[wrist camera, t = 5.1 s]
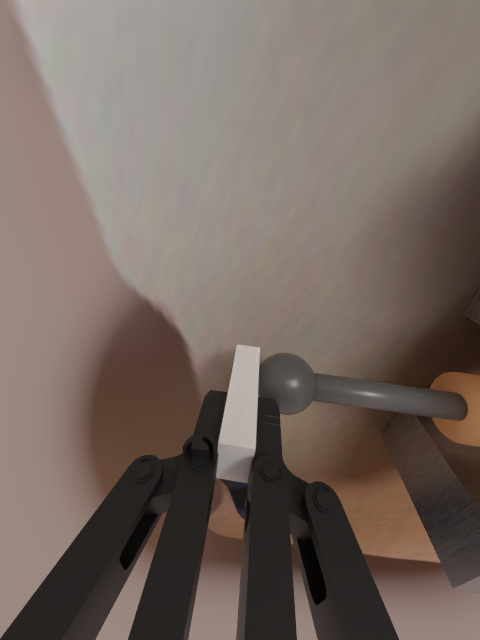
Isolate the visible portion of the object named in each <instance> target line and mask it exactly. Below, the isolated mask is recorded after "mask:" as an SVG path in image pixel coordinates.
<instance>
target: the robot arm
mask: <svg viewBox="0 0 480 640" xmlns="http://www.w3.org/2000/svg"><path fill="white" fill-rule="evenodd" d="M259 360H260V347H253V346H245V345H238V344H237V348H236V353H235V358H234V363H233V369H232V374H231V379H230V384H229V389H228V393H227V392H221V391H214V390H210V391H209V393H208V394H207V395H206V396H205V398H204V401H203V404H202V408H201V411H200V415H199V418H198V421H197V424H196V428H195V431H194V434H193V436H191V437H190V438H189V439H188V440H186V442H185V444H184V446H183V453H182V454H180V455H178V456H176V457H173V458H167V459H162V460H159V459H158V458H157V457H156V456H153V455H145V456H141V457H140V458H138V459H136V460H135V461H134V462H133V463H132V464H131V465H130V466H129V467H128V469H127V470H126V471H125V473H124V474H123V475H122V477H121V478H120V479H119V481H118V482H117V483H116V485H115V486H114V487H113V489H112V490H111V491H110V493H109V494H108V495H107V497H106V498H105V499H104V501H103V502H102V503H101V505H100V506H99V507H98V509H97V510H96V511H95V513H94V514H93V516H92V517H91V518H90V520H89V521H88V522H87V524H86V525H85V526H84V528H83V529H82V530H81V532H80V533H79V534H78V536H77V537H76V538H75V540H74V541H73V542H72V544H71V545H70V546H69V548H68V549H67V550H66V552H65V553H64V554H63V556H62V557H61V558H60V560H59V561H58V562H57V564H56V565H55V566H54V568H53V569H52V570H51V572H50V573H49V574H48V576H47V577H46V578H45V580H44V581H43V583H42V584H41V585H40V586H39V588H38V589H37V590H36V592H35V593H34V594H33V596H32V597H31V598H30V600H29V601H28V602H27V604H26V605H25V606H24V608H23V609H22V610H21V612H20V613H19V615H18V616H17V617H16V619H15V620H14V621H13V623H12V624H11V625H10V627H9V628H8V629H7V631H6V632H5V633H4V635H3V636H2V637H1V639H0V640H95V639H96V637H97V635H98V633H99V631H100V630H101V628H102V626H103V624H104V622H105V620H106V618H107V616H108V614H109V613H110V610H111V609H112V607H113V605H114V603H115V601H116V599H117V597H118V596H119V594H120V592H121V590H122V588H123V586H124V584H125V582H126V581H127V579H128V577H129V575H130V573H131V571H132V569H133V567H134V566H135V564H136V562H137V560H138V558H139V556H140V554H141V552H142V551H143V549H144V547H145V545H146V543H147V541H148V539H149V537H150V536H151V534H152V532H153V530H154V528H155V526H156V524H157V522H158V520H159V519H160V517H161V515H162V513H164V512H167V514H166V517H165V521H164V524H163V527H162V531H161V534H160V537H159V540H158V543H157V547H156V550H155V553H154V557H153V560H152V563H151V566H150V570H149V573H148V576H147V580H146V582H145V586H144V589H143V592H142V595H141V599H140V602H139V605H138V609H137V612H136V615H135V619H134V622H133V625H132V628H131V631H130V635H129V638H128V640H188V637H189V631H190V625H191V619H192V614H193V608H194V602H195V597H196V591H197V585H198V579H199V574H200V568H201V562H202V557H203V551H204V544H205V539H206V534H207V528H208V522H209V516H210V511H211V504H212V499H213V493H214V485H215V479H216V478H219V479H225V480H231V481H237V482H243V483H248V492H247V497H246V502H245V506H244V507H245V522H244V536H243V550H242V565H241V579H240V594H239V608H238V623H237V637H236V640H297V637H296V621H295V620H296V619H295V604H294V589H293V573H292V560H291V559H292V558H291V542H290V534H292V537H293V541H294V545H295V549H296V553H297V557H298V561H299V566H300V570H301V574H302V577H303V582H304V586H305V590H306V594H307V598H308V602H309V606H310V610H311V614H312V618H313V622H314V626H315V630H316V634H317V638H318V640H399V638H398V636H397V633H396V631H395V629H394V627H393V624H392V622H391V619H390V617H389V615H388V612H387V610H386V608H385V605H384V603H383V601H382V598H381V596H380V594H379V591H378V589H377V586H376V584H375V582H374V580H373V577H372V575H371V572H370V570H369V568H368V566H367V563H366V561H365V558H364V556H363V554H362V551H361V549H360V547H359V544H358V542H357V539H356V537H355V535H354V532H353V530H352V528H351V525H350V523H349V521H348V518H347V516H346V514H345V511H344V509H343V507H342V504H341V502H340V500H339V498H338V496H337V494H336V493H335V491H334V490H333V489H332V488H331V487H330V486H328V485H326V484H325V483H323V482H316V481H315V482H313V483H310V484H309V483H307V482H305V481H303V480H302V479H300V478H298V477H296V476H295V475H293V474H292V473H291V472H290V471H289V470H288V469H287V467H286V466H285V464H284V461H283V458H282V446H281V429H280V411H279V406H278V404H277V402H276V400H275V399H271V398H264V397H258V384H259Z"/></svg>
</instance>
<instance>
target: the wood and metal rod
mask: <svg viewBox="0 0 480 640" xmlns="http://www.w3.org/2000/svg"><path fill="white" fill-rule="evenodd" d="M258 395H259V397H264V398H271V399H275V400H276V402H277V404H278V406H279V411H280V414H284V415H291V414H296V413H299V412H301V411H303V410H304V409H306V408H307V407H308V406H309V405H310V403H311V402H312V401H320V402H327V403H334V404H341V405H348V406H356V407H363V408H370V409H377V410H384V411H391V412H398V413H405V414H412V415H419V416H426V417H432V420H433V421H434V423H435V425H436V426H437V428H438V429H439V430H440V431H441V433H442V434H443V435H445V436H446V437H447V438H449V439H450V440H452V441H454V442H456V443H459V444H464V445H471V446H478V447H480V375H475V374H467V373H460V372H447V373H443V374H441V375H440V376H438V377H437V378H436V379H435V380H434V381H433V383H432V384H431V387H430V389H427V388H419V387H412V386H405V385H397V384H390V383H382V382H375V381H368V380H360V379H353V378H346V377H338V376H331V375H324V374H316V373H314V372H313V370H312V368H311V367H310V366H309V364H308V363H307V362H306V361H305V360H303V359H302V358H300V357H299V356H297V355H294V354H290V353H279V354H275V355H273V356H271V357H269V358H267V359H266V360H265V361H264V362H263V363H262V365H261V366H260V368H259V384H258Z"/></svg>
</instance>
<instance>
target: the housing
mask: <svg viewBox="0 0 480 640" xmlns="http://www.w3.org/2000/svg"><path fill="white" fill-rule="evenodd" d="M463 315H464V316H466V317H467V318H469V319H471V320H472V321H474V322H475V323H477V324H478V325H480V289H479V290H478V292H477V293H476V295H475V296H474V298H473V299H472V301H471V302H470V304H469V305H468V307H467V308H466V310H465V311H464V313H463ZM382 437H383V440H384V442H385V444H386V446H387V448H388V450H389V452H390V455H391V457H392V459H393V461H394V463H395V465H396V467H397V470H398V472H399V474H400V476H401V478H402V480H403V482H404V485H405V487H406V489H407V491H408V493H409V495H410V497H411V500H412V502H413V504H414V506H415V508H416V510H417V513H418V515H419V517H420V519H421V521H422V523H423V525H424V528H425V530H426V532H427V534H428V536H429V538H430V540H431V543H432V545H433V547H434V549H435V551H436V553H437V555H438V558H439V560H440V562H441V564H442V566H443V568H444V570H445V573H446V575H447V577H448V579H449V581H450V583H451V585H452V588H453V589H459V590H464V591H471V592H476V593H480V447H478V446H471V445H464V444H459V443H456V442H454V441H452V440H450V439H449V438H447V437H446V436H445V435H443V434H442V433H441V431H440V430H439V429H438V428H437V426H436V425H435V423H434V421H433V420H432V417H426V416H419V415H412V414H405V413H398V412H396V414H395V415H394V417H393V418H392V420H391V421H390V423H389V424H388V426H387V427H386V429H385V430H384V432H383V433H382Z"/></svg>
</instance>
